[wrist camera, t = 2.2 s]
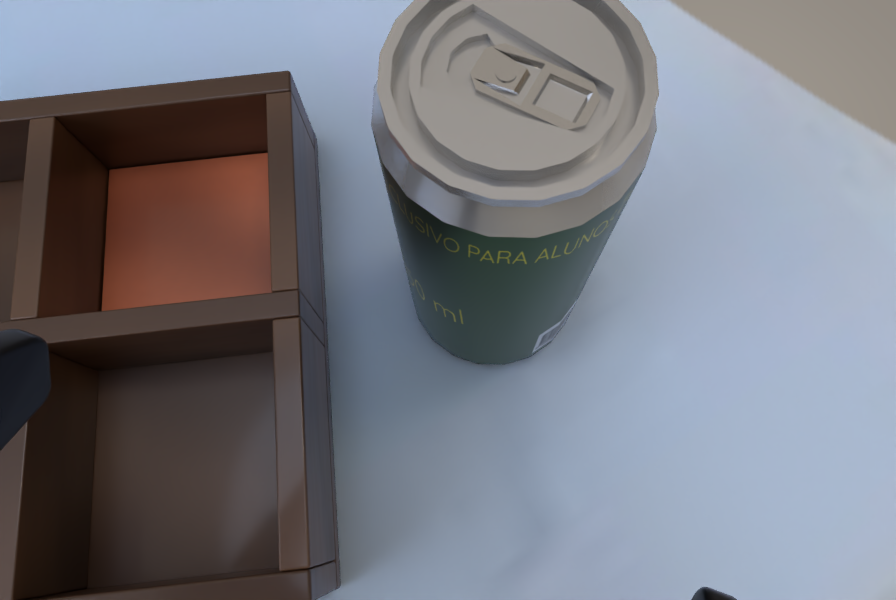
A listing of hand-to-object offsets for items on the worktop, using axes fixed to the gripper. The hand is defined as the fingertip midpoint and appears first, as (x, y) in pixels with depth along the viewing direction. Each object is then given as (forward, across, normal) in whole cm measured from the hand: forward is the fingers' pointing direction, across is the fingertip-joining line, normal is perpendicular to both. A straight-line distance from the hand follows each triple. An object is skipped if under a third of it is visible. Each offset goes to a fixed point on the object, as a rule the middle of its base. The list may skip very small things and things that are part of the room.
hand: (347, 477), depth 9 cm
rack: (+10, +12, +9) cm, 18 cm away
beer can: (+15, 0, +4) cm, 15 cm away
